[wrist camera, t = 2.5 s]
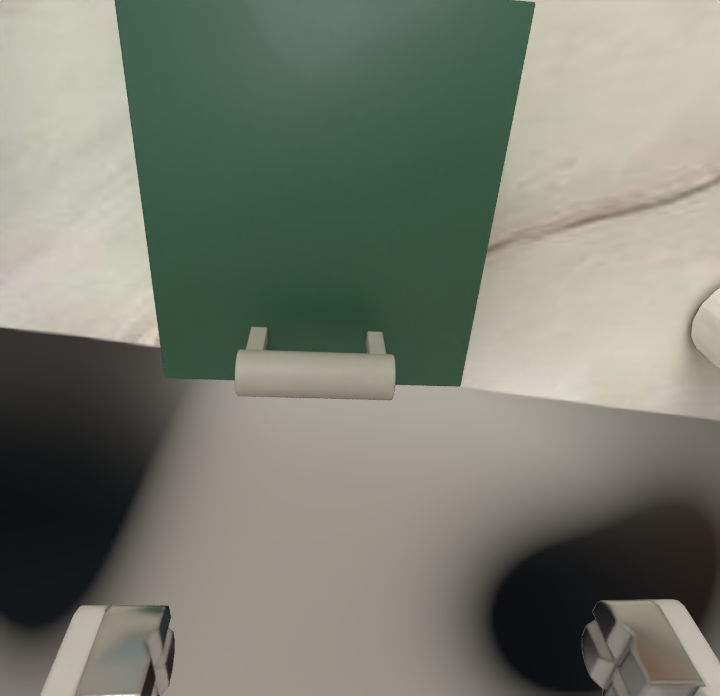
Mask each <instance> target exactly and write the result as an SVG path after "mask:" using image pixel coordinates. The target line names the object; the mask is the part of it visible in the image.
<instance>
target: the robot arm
mask: <svg viewBox="0 0 720 696" xmlns="http://www.w3.org/2000/svg"><path fill="white" fill-rule="evenodd" d="M593 614H594V616H595V618H596V619H595V620H594V621H593V622H591V623H589V624H588V625H587V626H586V627H585V630H584V633H583V635H582V652H583V657H584V661H585V664H586V667H587V670H588V672H589V675H590V677H591V678H592V679H593V680H594V681H595V682H596V683H597V684H598V685H599V686H600V687H601V688H603V694H602V696H720V662H719V661H718V659H717V657H716V656H715V654H714V653H713V651H712V649H711V648H710V646H709V645H708V643H707V642H706V640H705V638H704V637H703V635H702V633H701V632H700V630H699V629H698V627H697V626H696V624H695V622H694V621H693V619H692V618H691V616H690V614H689V613H688V611H687V610H686V608H685V607H684V605H682V604H681V603H680V602H679V601H678V600H672V599H667V600H649V599H641V600H640V599H639V600H606V601H601V602H598V603H597V604H596V606H595V608H594V610H593ZM170 619H171V614H170V609H169V606H112V605H91V606H80V607H79V609H78V610H77V611H76V613H75V614H74V616H73V618H72V620H71V623H70V625H69V628H68V630H67V632H66V635H65V637H64V640H63V642H62V644H61V646H60V649H59V651H58V654H57V656H56V658H55V661H54V663H53V666H52V668H51V671H50V673H49V675H48V678H47V680H46V683H45V685H44V687H43V690H42V692H41V694H40V696H161V695H162V694H163V693H164V692H165V691H166V690H167V688H168V687H169V684H170V679H171V674H172V669H173V662H174V653H175V639H174V632H173V631H172V630H171V629H169V628H168V627H169V623H170Z"/></svg>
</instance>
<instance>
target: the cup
mask: <svg viewBox="0 0 720 696" xmlns="http://www.w3.org/2000/svg"><path fill="white" fill-rule="evenodd" d="M691 337H692V340H693V342H694V344H695V346H696V348H697V350H698V351H700V352H701V353H703V354H704V355H705V356H706V357H707V358H708V359H709V360H710V361H711V362H712V363H713V364H714V365H715V366H716V367H717V368H718V369H719V370H720V288H719V289H718V290H716V291H715V292H714V293H713V294H712V295H711V296H710V297H709V298H708V299H707V300H706V301H705V302H704V303H703V304H702V305H701V307H700V308H699V310H698V312H697V314H696V316H695V318H694V320H693V324H692V333H691Z"/></svg>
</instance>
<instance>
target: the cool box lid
mask: <svg viewBox="0 0 720 696" xmlns="http://www.w3.org/2000/svg"><path fill="white" fill-rule="evenodd" d="M115 6H116V14H117V21H118V29H119V36H120V44H121V51H122V59H123V66H124V74H125V81H126V89H127V97H128V104H129V112H130V119H131V127H132V134H133V142H134V149H135V157H136V164H137V172H138V179H139V187H140V194H141V202H142V209H143V217H144V224H145V232H146V239H147V247H148V255H149V262H150V270H151V277H152V285H153V292H154V300H155V307H156V315H157V322H158V330H159V337H160V345H161V352H162V359H163V367H164V375H165V378H178V379H179V378H180V379H215V380H217V379H218V380H235V390H236V394H237V396H252V397H290V398H331V399H368V400H392V399H393V396H394V390H395V385H427V386H460V385H461V381H462V375H463V370H464V365H465V360H466V355H467V350H468V345H469V340H470V335H471V329H472V324H473V319H474V314H475V309H476V304H477V299H478V294H479V289H480V284H481V278H482V273H483V268H484V263H485V258H486V253H487V248H488V243H489V238H490V232H491V227H492V222H493V217H494V212H495V207H496V202H497V197H498V192H499V187H500V181H501V176H502V171H503V166H504V161H505V156H506V151H507V146H508V141H509V136H510V130H511V125H512V120H513V115H514V110H515V105H516V100H517V95H518V90H519V84H520V79H521V74H522V69H523V64H524V59H525V54H526V49H527V44H528V39H529V33H530V28H531V23H532V18H533V13H534V8H535V2H527V1H516V0H115Z"/></svg>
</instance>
